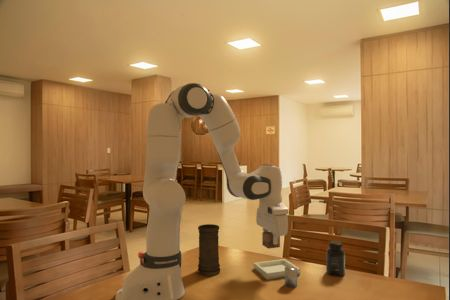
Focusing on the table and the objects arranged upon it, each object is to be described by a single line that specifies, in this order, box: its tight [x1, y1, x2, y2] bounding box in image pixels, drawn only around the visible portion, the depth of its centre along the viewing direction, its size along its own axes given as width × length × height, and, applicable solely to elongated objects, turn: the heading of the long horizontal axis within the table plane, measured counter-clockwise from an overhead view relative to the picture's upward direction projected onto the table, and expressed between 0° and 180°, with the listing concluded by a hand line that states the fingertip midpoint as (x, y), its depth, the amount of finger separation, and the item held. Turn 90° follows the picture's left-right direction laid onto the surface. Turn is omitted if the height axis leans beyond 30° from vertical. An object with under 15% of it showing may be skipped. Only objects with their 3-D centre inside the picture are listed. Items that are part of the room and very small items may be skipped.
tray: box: [253, 258, 301, 281], centre depth 132 cm, size 14×12×2 cm
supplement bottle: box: [325, 240, 346, 277], centre depth 130 cm, size 7×7×12 cm
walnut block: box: [261, 231, 281, 250], centre depth 130 cm, size 5×5×5 cm
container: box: [197, 223, 221, 277], centre depth 132 cm, size 9×9×18 cm
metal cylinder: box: [284, 266, 298, 289], centre depth 119 cm, size 4×4×6 cm
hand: (270, 241), depth 130 cm, fingers closed on walnut block, 5 cm apart
